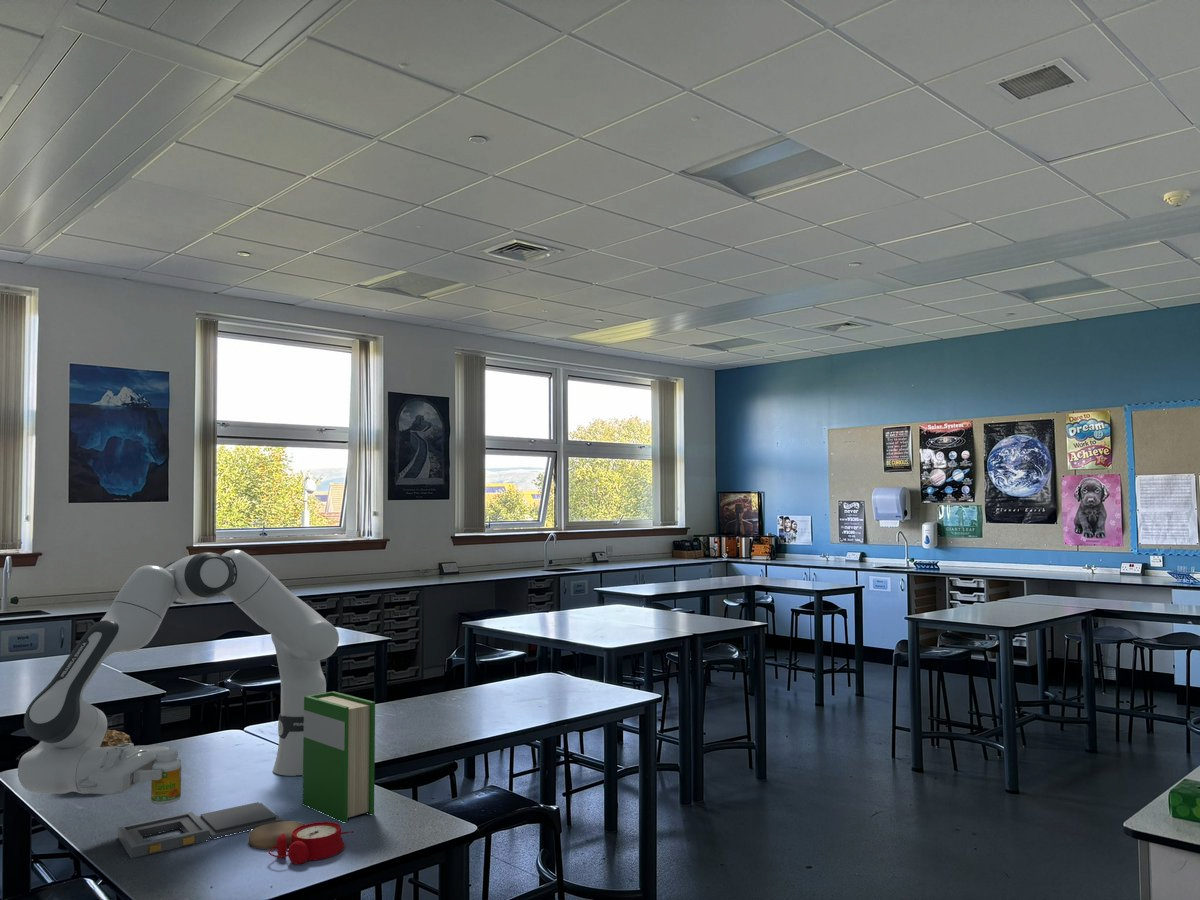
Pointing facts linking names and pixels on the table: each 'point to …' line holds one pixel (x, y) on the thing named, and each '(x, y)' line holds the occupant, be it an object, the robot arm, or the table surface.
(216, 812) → the equipment case
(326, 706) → the hardback book
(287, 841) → the round brown pad
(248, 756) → the table surface
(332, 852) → the alarm clock
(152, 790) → the supplement bottle
